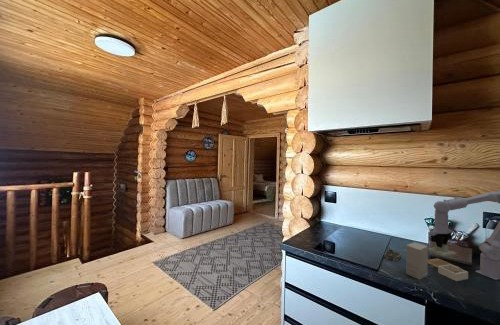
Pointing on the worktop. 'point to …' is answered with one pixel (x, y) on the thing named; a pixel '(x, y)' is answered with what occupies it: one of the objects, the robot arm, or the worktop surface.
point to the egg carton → (392, 255)
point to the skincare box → (416, 260)
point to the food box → (455, 276)
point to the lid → (442, 250)
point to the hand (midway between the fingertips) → (441, 246)
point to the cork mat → (439, 262)
